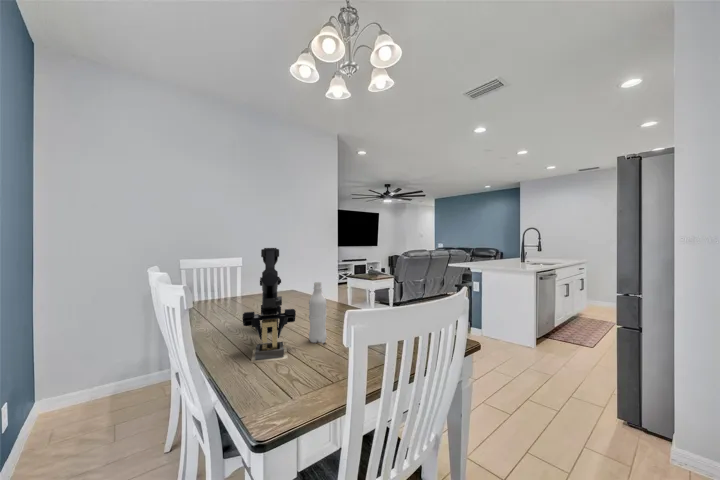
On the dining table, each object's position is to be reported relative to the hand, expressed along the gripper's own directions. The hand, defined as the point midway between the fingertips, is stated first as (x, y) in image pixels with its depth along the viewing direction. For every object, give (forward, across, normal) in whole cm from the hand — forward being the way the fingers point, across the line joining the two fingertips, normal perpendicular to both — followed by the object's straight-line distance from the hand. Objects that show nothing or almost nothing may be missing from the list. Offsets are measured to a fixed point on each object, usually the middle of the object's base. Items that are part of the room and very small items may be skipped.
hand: (269, 338), depth 101 cm
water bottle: (-2, +19, +13) cm, 23 cm away
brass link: (+3, 0, +5) cm, 6 cm away
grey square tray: (+4, 0, +6) cm, 8 cm away
